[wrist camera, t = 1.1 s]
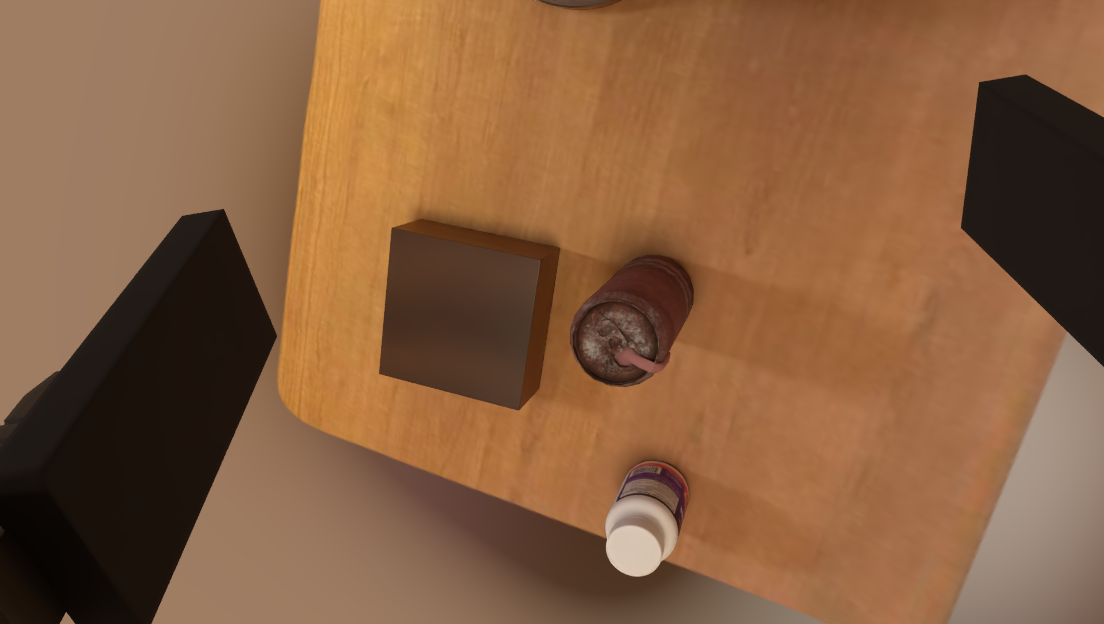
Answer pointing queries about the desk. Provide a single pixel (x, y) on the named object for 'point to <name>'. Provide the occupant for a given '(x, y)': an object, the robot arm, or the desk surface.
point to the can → (632, 322)
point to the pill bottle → (646, 518)
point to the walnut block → (467, 311)
